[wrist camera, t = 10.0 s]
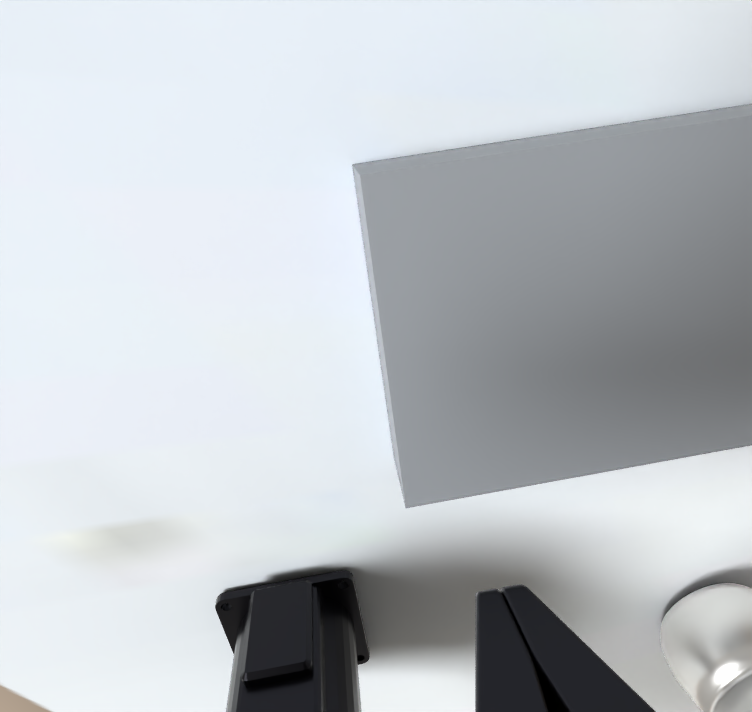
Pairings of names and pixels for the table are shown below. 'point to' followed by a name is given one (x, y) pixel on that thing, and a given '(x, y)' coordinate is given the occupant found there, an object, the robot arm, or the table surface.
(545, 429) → the plate
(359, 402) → the table surface
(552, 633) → the robot arm
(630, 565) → the table surface
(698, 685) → the plastic bottle
